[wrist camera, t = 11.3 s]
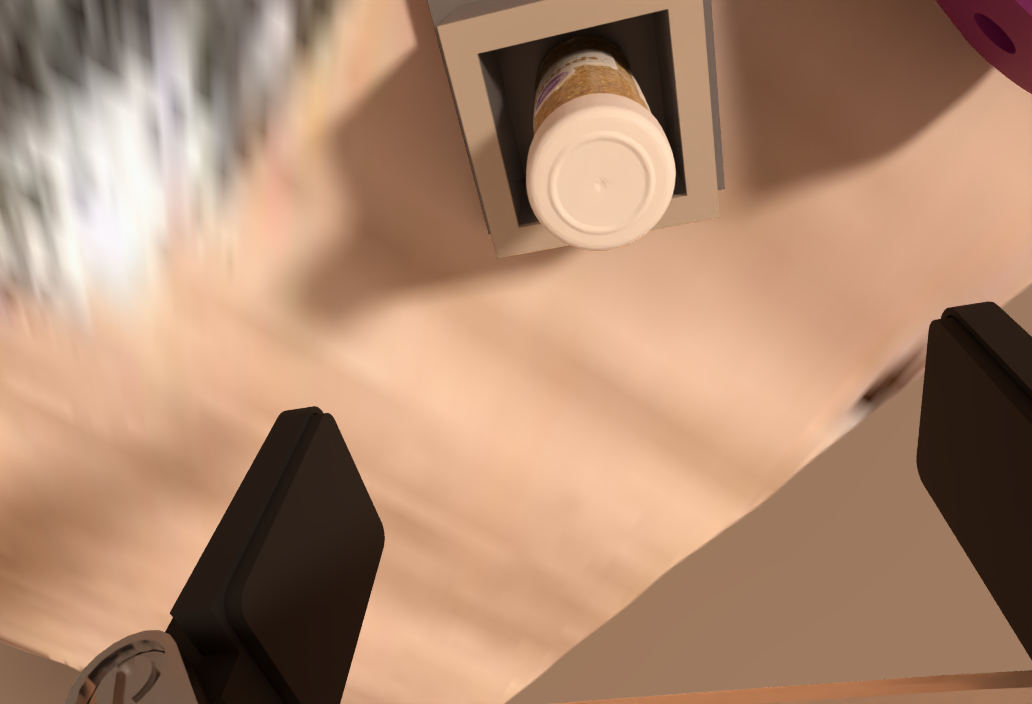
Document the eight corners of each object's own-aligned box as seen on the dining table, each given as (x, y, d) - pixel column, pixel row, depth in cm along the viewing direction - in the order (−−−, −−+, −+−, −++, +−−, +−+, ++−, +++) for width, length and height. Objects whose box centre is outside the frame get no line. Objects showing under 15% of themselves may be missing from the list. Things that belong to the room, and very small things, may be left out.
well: (425, -22, 31) (392, -4, 25) (700, -93, 29) (736, -92, 23) (490, 226, 37) (476, 289, 31) (720, 182, 35) (753, 240, 29)
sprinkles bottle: (561, 15, 31) (568, 78, 19) (652, 62, 32) (708, 149, 20) (517, 112, 33) (500, 219, 22) (603, 153, 34) (630, 277, 23)
